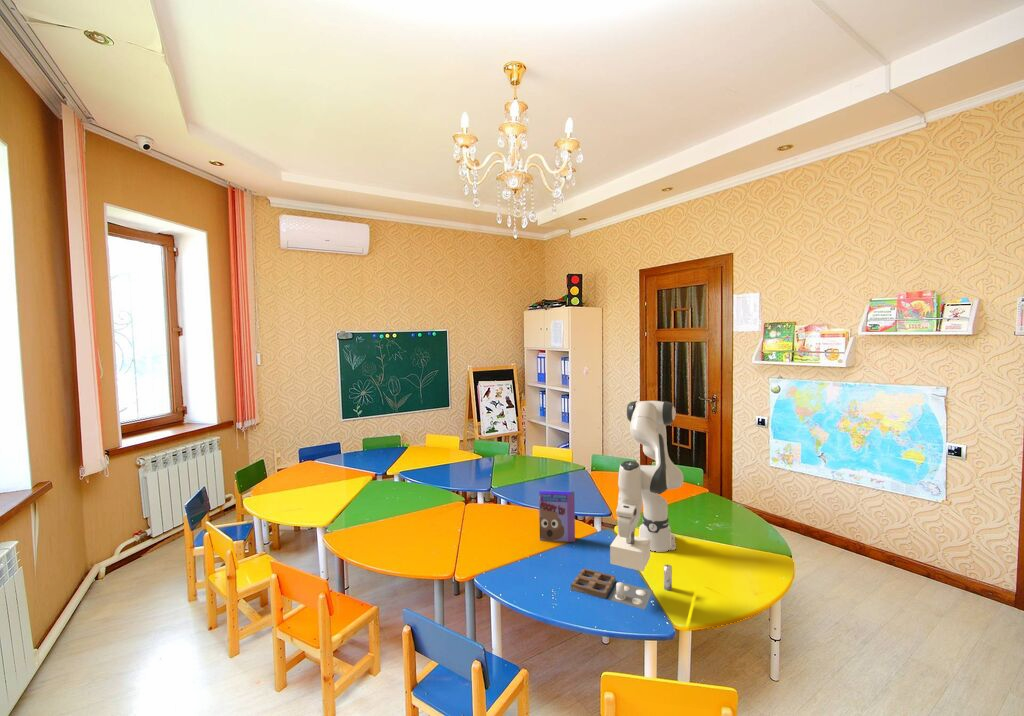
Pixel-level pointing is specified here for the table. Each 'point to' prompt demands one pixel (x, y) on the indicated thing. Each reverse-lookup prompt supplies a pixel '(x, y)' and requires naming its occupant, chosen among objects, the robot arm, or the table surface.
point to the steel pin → (668, 577)
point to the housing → (630, 552)
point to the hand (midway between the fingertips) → (630, 539)
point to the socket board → (593, 583)
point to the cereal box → (557, 516)
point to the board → (631, 595)
